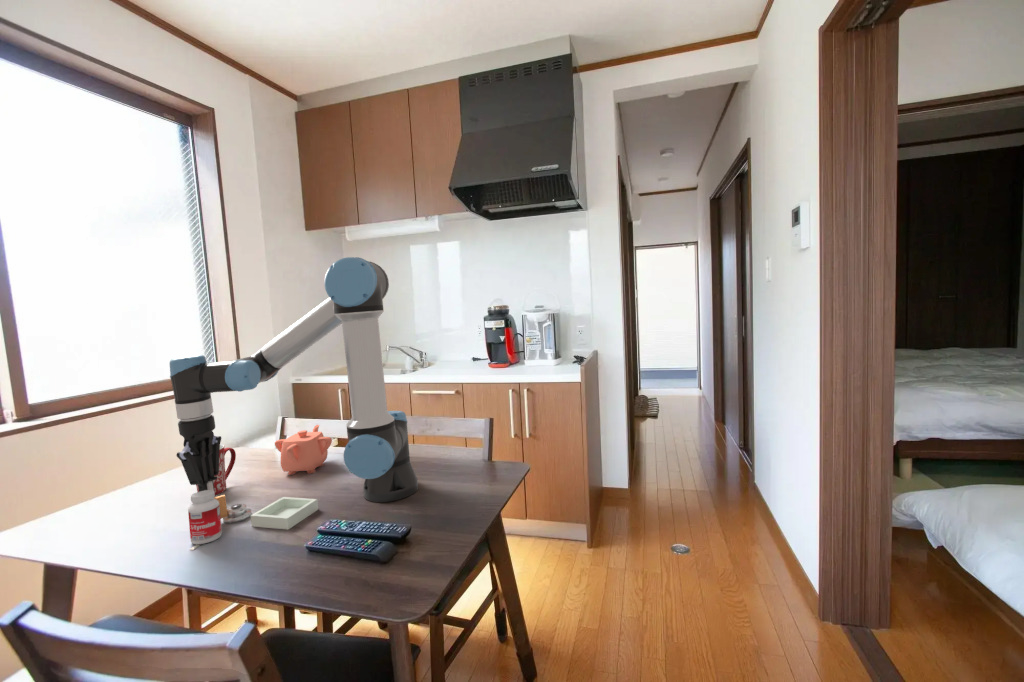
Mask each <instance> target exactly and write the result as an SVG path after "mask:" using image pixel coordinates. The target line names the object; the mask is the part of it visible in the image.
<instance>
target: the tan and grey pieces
mask: <svg viewBox="0 0 1024 682" xmlns="http://www.w3.org/2000/svg"><path fill="white" fill-rule="evenodd" d="M214 499H216V500H218V501H219V507H220V519H223V518H225V517H228V518H235V517H239V516H242V515H244V514H246V513H247V509H248V508H247V504H246V503H237V504H234V505H230V506H229V507H227V498H226V495H225V494H222V495H218V496H215V497H214Z"/></svg>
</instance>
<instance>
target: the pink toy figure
mask: <svg viewBox="0 0 1024 682" xmlns="http://www.w3.org/2000/svg"><path fill="white" fill-rule="evenodd" d="M319 427H320V424H316V425H315V426H314V427H313V429H312V431H308V430H307V429H306V430H305V429H304V430H299V431H297V433H294V434H293V435H291V436H289V437H287V438H283V439H282V438H281V439H277V440H276V441H275V442H274V446H275V448H276V449H277V451H278V452H279V453H280V468H281V469H282V471H283V472H288V473H287V475H288V476H289V475H290V476H291V475H296V474H297V472H301V471H302V472H305V471H306V474H309V475H311V474H314V473H316V471H317V470H316V468H318V467H323V466H324V465H325V464H324V462H326V460H327V458H328V454H329V452H328V451H329V448H330V447H331V445H332V443H333V439H332V437H329V436H324V433H323V432H322V431H319Z"/></svg>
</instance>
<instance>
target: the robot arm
mask: <svg viewBox="0 0 1024 682" xmlns="http://www.w3.org/2000/svg"><path fill="white" fill-rule="evenodd" d="M323 281H324V289H325V291H326V295H328V298H326V299H325V300H323V301H322V302H321V303H319V304H318V305H317V306H316V307H314V308H313V309H312V310H310V311H309V312H307V314H305V315H304V316H302V317H301V318H300V319H298V320H297V321H296V322H294V323H292V325H290V326H289V327H288V328H286V329H285V330H284V331H282V332H281V333H280V334H278V335H277V336H275V337H274V338H273V339H272V340H270V341H269V342H268V343H266V344H265V345H264V346H263V347H261V348H260V349H258V350H257V351H256V352H254V353H253V354H252V355H250V356H245V357H242V358H238V359H233V360H228V361H216V362H208V361H207V359H206V357H205V355H203V354H192V355H191V354H190V355H182V356H177V357H173V358H172V359H171V360H170V361H169V373H170V375H169V378H170V382H171V387H172V391H173V396H174V397H173V398H174V404H175V411H176V418H177V419H178V422H177V426H178V433H179V435H180V436H181V437H183V443H182V444H183V449H182V450H181V451H178V452H176V457H177V459H179V461H181V464H182V467H183V469H184V472H185V475H186V477H187V480H188V482H189V484H190V485H191V486H196V485H198V488H199V492H200V491H204V490H214V483H213V480H216V479H217V477H214V476H215V475H218V473H219V451H220V444H221V442H222V436H219V435H218V436H216V435H215V434H214V432H213V431H214V430H215V429H216V422H215V416H214V415H213V413H214V407H213V401H212V394H211V393H213V394H214V393H225V392H226V393H227V392H243V391H250V390H254V389H255V388H257V387H258V385H259V384H260V383H265V382H268V381H269V380H271V379H273V378H274V377H276V376H277V374H278V373H279V371H280V370H282V369H283V368H284V367H285V366H286V365H288V364H289V363H290V362H291V361H294V360H295V359H296V358H297V357H299V356H300V355H302V354H303V353H304V352H305V351H307V350H308V349H310V348H311V347H312V346H313V345H315V344H316V343H318V342H319V341H320V340H321V339H323V338H324V337H325V336H327V335H328V334H329V333H331V332H332V331H334V330H335V329H336V328H337V327H339V326H340V325H341V327H342V335H343V346H344V354H345V361H346V363H345V364H346V373H347V381H348V392H349V401H350V410H351V418H350V419H349V421H348V422H346V435H347V444H346V445H345V447H344V450H343V462H344V464H345V467H346V468H347V470H348V471H349V472H350V473H351V474H353V475H354V476H356V477H358V478H360V479H364V482H363V483H364V484H363V487H362V488H363V489H362V490H363V497H364V498H365V500H367V501H369V502H375V503H385V502H386V503H387V502H388V503H389V502H394V501H398V500H402V499H404V498H408V497H410V496H411V495H414V493H416V492H417V491H418V489H419V481H418V477H417V475H416V473H415V470H414V467H413V466H412V463H411V459H410V447H409V446H410V445H409V435H408V420H407V414H406V412H404V411H402V410H388V405H387V395H386V386H385V385H386V384H385V382H386V381H385V374H384V364H383V355H382V345H381V337H380V336H381V335H380V334H381V333H380V325H379V324H380V323H379V318H380V316H381V315H382V314H383V313H384V302H383V299H385V297H386V296H387V293H388V291H389V287H390V285H389V284H390V283H389V278H388V275H387V273H386V271H385V270H384V269H383V267H381V266H380V265H379V264H377V263H375V262H372V261H368V260H366V259H364V258H362V257H358V256H357V257H353V256H349V257H348V256H347V257H342V258H339V259H337V260H336V261H335V262H333V263H332V264H331V265H330V266H329V267H328V269H327V271H326V273H325V275H324V280H323ZM213 469H214V470H213Z"/></svg>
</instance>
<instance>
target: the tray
mask: <svg viewBox="0 0 1024 682" xmlns="http://www.w3.org/2000/svg"><path fill="white" fill-rule="evenodd" d="M318 510H319V502H318V498H306V497H305V498H304V497H292V496H291V497H290V496H282V497H280V498H278V499H277V500H275V501H273V502H271V503H270V504H268V505H266V506H264V507H263V508H261V509H259V510H258V511H256V512H254V513H252V515H250V522H251V523H250V524H251V527H255V528H256V527H257V528H265V529H267V528H269V529H277V530H278V529H279V530H290V529H291V528H293V527H294V526H296V525H297V524H299V523H300V522H302V521H303V520H305V519H306V518H308V517H309V516H311V515H313V514H314V513H316V512H317V511H318Z"/></svg>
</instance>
